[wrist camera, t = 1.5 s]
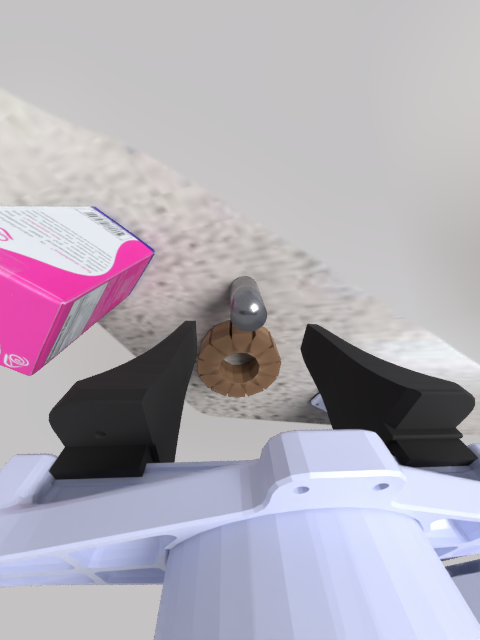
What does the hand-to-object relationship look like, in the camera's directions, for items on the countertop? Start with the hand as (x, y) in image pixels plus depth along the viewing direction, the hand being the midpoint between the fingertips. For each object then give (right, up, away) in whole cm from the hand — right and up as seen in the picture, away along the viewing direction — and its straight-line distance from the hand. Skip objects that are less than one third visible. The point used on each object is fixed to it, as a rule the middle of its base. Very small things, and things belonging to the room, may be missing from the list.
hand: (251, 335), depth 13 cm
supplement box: (-13, +7, +6) cm, 15 cm away
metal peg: (0, +4, +8) cm, 9 cm away
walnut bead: (-1, -3, +11) cm, 12 cm away
